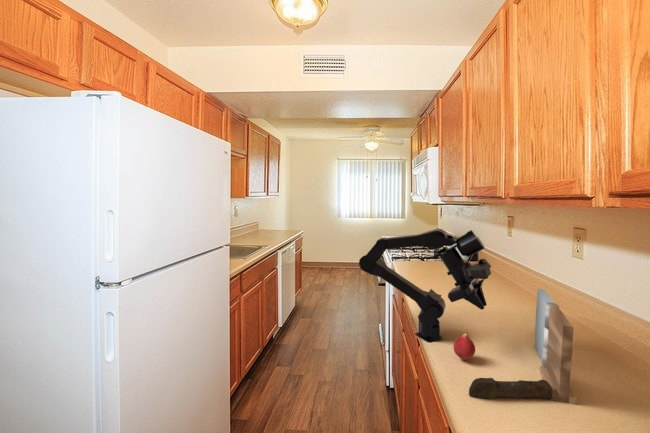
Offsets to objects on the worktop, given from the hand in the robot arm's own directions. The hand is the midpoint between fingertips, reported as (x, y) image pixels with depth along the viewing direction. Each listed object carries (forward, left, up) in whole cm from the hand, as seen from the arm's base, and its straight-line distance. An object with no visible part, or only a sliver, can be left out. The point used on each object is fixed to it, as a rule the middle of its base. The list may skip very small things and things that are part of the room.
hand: (484, 307), depth 103 cm
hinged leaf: (+13, +10, -12) cm, 20 cm away
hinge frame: (+22, -1, -13) cm, 25 cm away
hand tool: (+20, -16, -13) cm, 29 cm away
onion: (+3, -12, -13) cm, 18 cm away
